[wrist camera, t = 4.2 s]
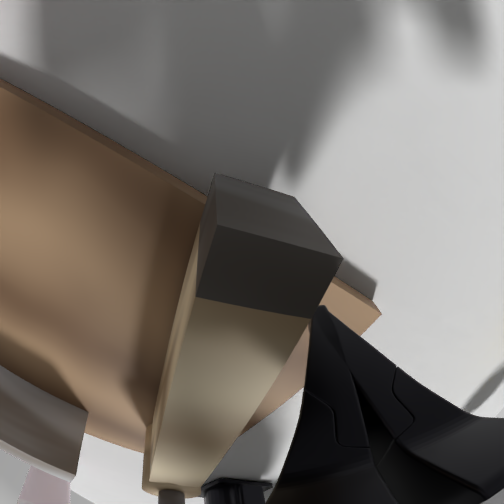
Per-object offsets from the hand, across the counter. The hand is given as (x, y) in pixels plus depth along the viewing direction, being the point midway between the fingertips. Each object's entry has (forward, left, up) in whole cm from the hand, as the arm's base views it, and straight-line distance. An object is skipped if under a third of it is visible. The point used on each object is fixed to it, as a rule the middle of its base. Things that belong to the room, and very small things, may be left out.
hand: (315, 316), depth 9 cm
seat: (-8, +5, -3) cm, 10 cm away
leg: (-6, +1, -2) cm, 6 cm away
